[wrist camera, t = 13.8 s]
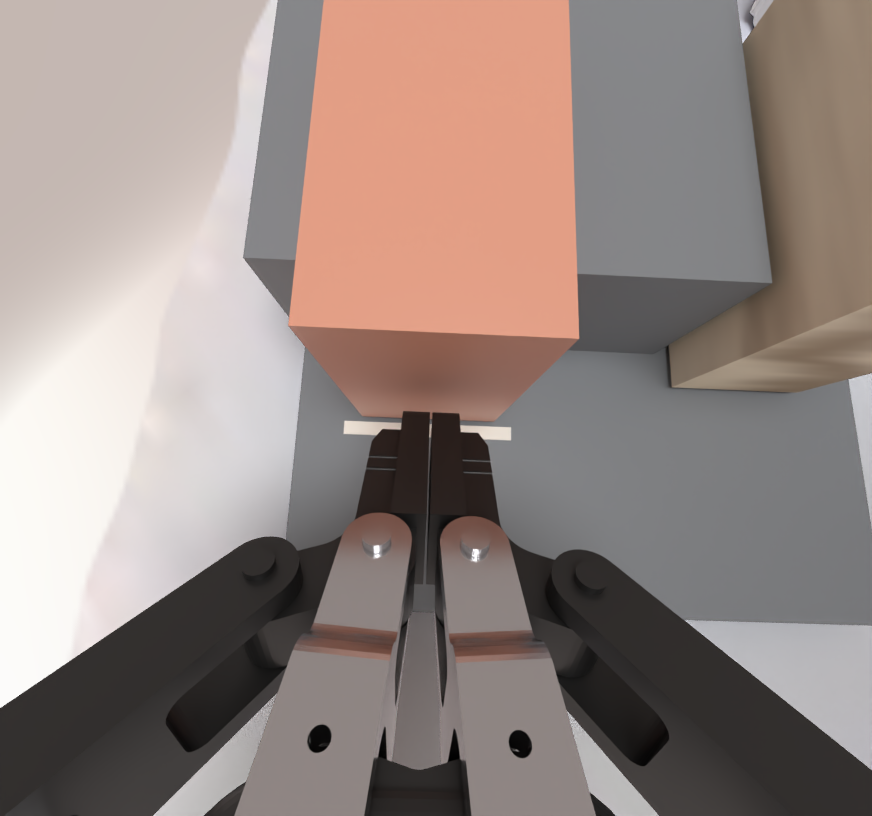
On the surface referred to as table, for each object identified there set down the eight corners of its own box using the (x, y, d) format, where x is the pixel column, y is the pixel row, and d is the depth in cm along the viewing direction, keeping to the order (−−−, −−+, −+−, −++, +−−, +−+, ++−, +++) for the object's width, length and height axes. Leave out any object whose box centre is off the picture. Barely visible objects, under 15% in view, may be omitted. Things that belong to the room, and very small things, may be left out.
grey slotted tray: (785, 175, 21) (984, 3, 13) (846, 614, 17) (1171, 709, 10) (334, 151, 20) (283, -42, 13) (292, 597, 16) (185, 683, 9)
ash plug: (767, 171, 19) (1076, -115, 10) (796, 392, 17) (1213, 283, 8) (655, 165, 19) (866, -130, 10) (671, 387, 17) (953, 270, 8)
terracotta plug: (496, 190, 18) (566, -97, 9) (493, 421, 16) (579, 338, 7) (378, 184, 18) (335, -112, 9) (362, 416, 16) (288, 325, 7)
